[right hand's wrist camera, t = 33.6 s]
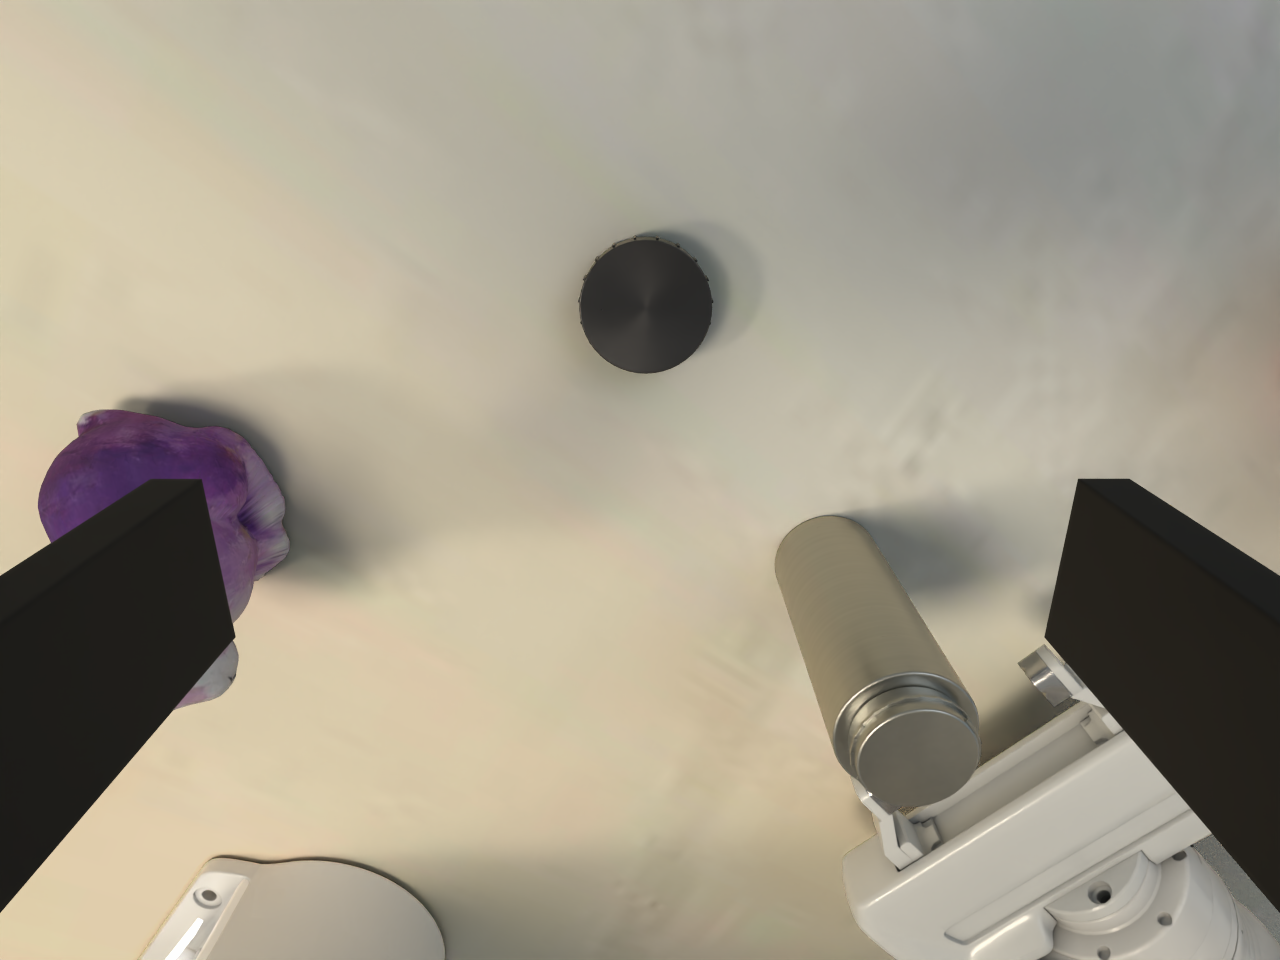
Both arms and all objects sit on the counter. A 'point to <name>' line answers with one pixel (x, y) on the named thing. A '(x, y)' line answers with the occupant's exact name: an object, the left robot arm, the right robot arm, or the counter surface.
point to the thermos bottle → (876, 667)
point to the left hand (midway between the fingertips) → (947, 720)
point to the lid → (645, 305)
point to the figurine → (160, 449)
